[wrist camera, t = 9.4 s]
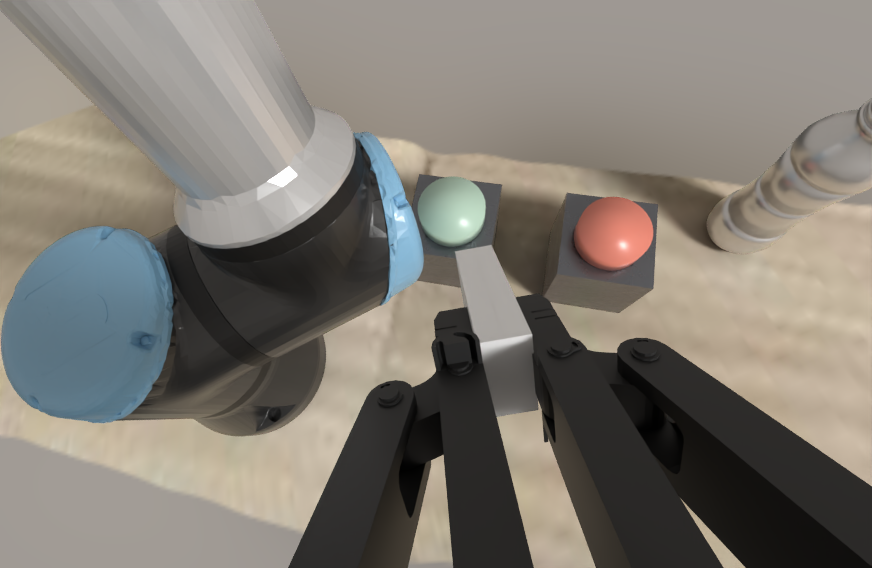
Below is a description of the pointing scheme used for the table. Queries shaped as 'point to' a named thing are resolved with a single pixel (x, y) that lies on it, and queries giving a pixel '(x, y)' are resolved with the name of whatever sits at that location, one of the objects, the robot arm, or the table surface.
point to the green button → (452, 211)
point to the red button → (613, 233)
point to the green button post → (443, 258)
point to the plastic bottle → (798, 183)
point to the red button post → (584, 282)
